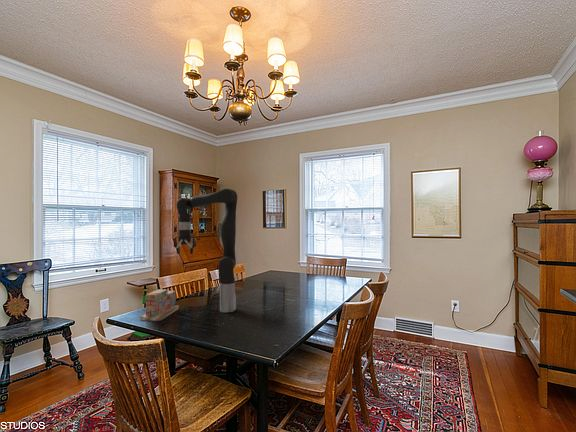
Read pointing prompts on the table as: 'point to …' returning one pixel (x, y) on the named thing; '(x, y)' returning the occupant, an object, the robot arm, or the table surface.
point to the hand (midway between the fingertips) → (184, 254)
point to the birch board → (160, 316)
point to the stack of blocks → (159, 302)
